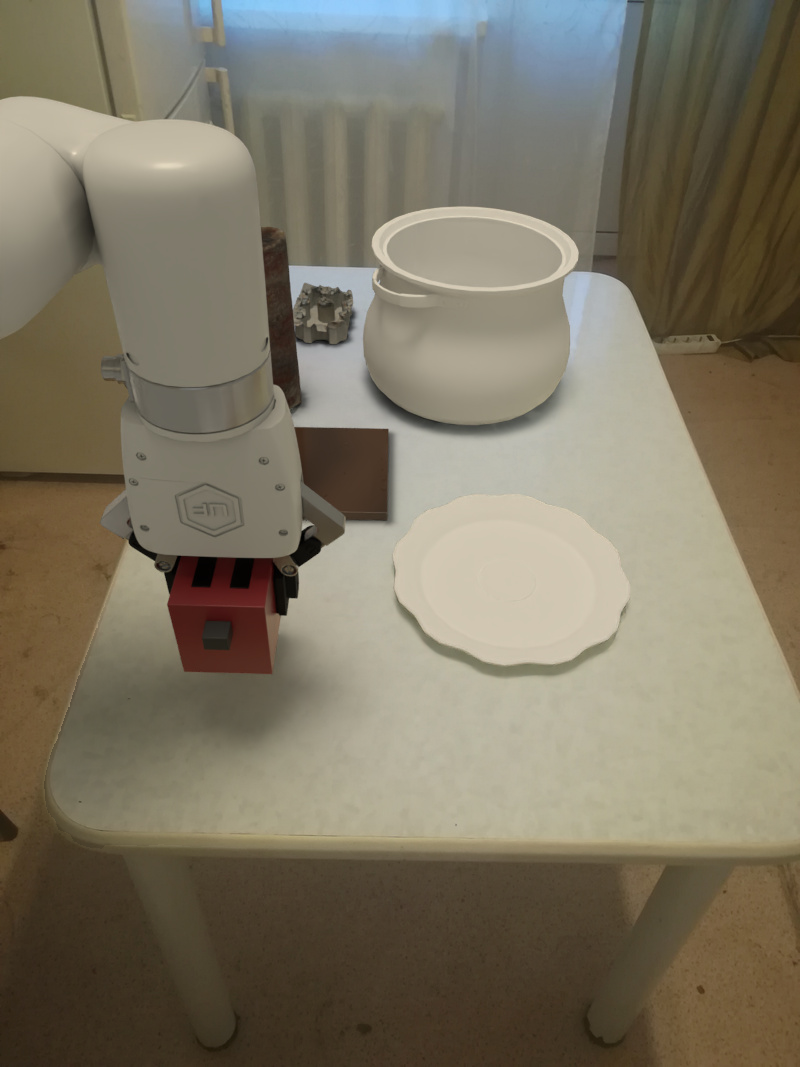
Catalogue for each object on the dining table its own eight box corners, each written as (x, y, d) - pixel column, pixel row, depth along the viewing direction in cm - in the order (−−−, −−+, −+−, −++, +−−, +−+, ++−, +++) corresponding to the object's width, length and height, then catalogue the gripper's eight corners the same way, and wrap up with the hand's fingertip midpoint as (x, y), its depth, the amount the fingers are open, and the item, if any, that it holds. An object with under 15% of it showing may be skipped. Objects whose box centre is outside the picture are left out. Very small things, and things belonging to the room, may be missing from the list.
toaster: (179, 689, 50) (161, 621, 45) (210, 566, 58) (197, 496, 53) (270, 692, 50) (261, 624, 45) (288, 568, 58) (282, 499, 53)
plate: (451, 481, 78) (452, 469, 77) (649, 550, 72) (654, 537, 70) (350, 616, 65) (349, 603, 64) (583, 716, 58) (587, 704, 57)
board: (223, 517, 73) (222, 510, 73) (245, 433, 84) (243, 425, 83) (387, 520, 74) (387, 512, 73) (388, 435, 84) (388, 428, 83)
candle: (273, 429, 84) (253, 254, 70) (223, 408, 87) (195, 236, 73) (314, 398, 89) (303, 228, 75) (266, 379, 92) (247, 212, 78)
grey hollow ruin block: (345, 347, 98) (345, 318, 95) (289, 343, 98) (286, 314, 95) (357, 308, 106) (357, 281, 103) (304, 305, 106) (303, 277, 103)
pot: (451, 467, 80) (464, 322, 68) (320, 370, 94) (312, 235, 82) (606, 388, 92) (639, 253, 81) (469, 312, 106) (481, 187, 94)
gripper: (16, 413, 38) (98, 637, 50) (359, 426, 38) (356, 644, 51) (64, 338, 43) (127, 557, 56) (363, 351, 44) (360, 565, 56)
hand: (236, 597), depth 53 cm, fingers closed on toaster, 6 cm apart
